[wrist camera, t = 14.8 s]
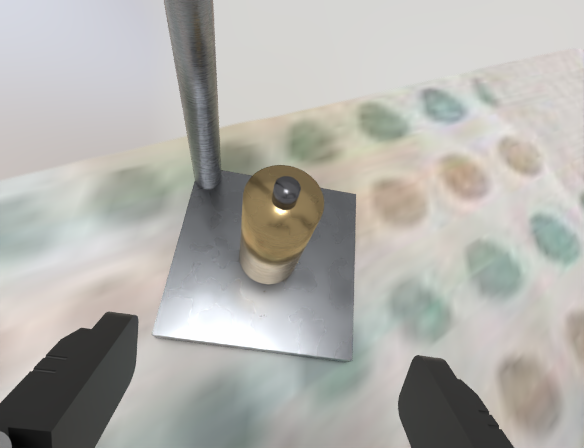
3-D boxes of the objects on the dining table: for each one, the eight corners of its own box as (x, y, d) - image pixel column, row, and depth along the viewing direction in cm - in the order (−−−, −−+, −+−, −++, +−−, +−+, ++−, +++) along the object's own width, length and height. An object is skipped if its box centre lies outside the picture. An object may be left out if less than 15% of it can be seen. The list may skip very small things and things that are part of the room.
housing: (299, 234, 28) (331, 159, 19) (294, 287, 26) (327, 233, 17) (244, 226, 27) (250, 145, 18) (235, 280, 25) (237, 219, 16)
